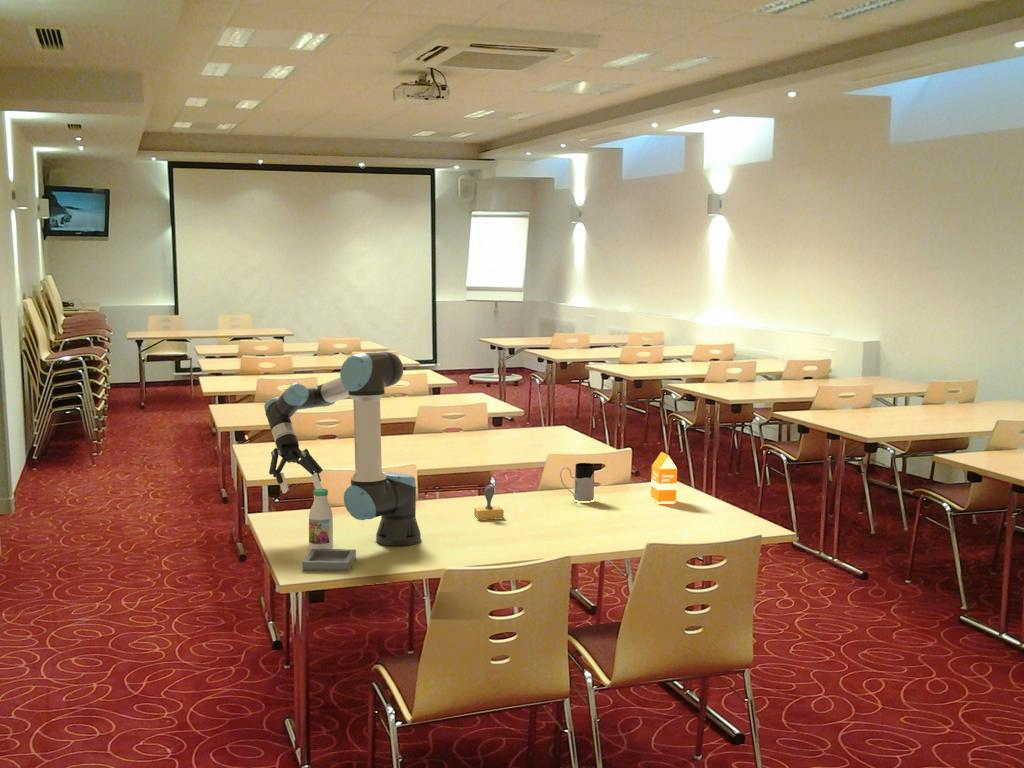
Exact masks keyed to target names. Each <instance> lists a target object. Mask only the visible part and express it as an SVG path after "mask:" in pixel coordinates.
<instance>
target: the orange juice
mask: <svg viewBox="0 0 1024 768" xmlns="http://www.w3.org/2000/svg"><path fill="white" fill-rule="evenodd" d="M650 480H651V483H650V485H651V486H650V498H651V497H652V498H654V499H655V500H657V501H658V502H661V501H676V502H677V486H678V485H677V484H678V483H677V481H678V468H677V466H676V464H675V463H674V461H673V460H672V458H671V457H670V455H669V454H667V453H665V452H663V451H661V452H660V453H659V454H658V456H657V458H656V459H655V460H654V462H653V463H652V464H651V479H650Z"/></svg>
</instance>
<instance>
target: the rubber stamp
mask: <svg viewBox="0 0 1024 768" xmlns="http://www.w3.org/2000/svg"><path fill="white" fill-rule="evenodd" d="M484 497H485V499H486V506H479V507H477V506H476V507H474V509H473V510H474V515H473V517H474V516H475V517H476V518H477V519H478V520H477V519H476V518H475V517H474V518H475V519H476V520H477V521H483V520H482V519H495V518H503V519H504V515H505V514H504V511H505V510H504V509H503V508H502V507H501V506H500V505H499V506H498V505H496V506H492V505H491V503H492V500H493V497H494V489H493V487H491V486H486V488H485V489H484ZM495 520H496V519H495Z"/></svg>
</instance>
